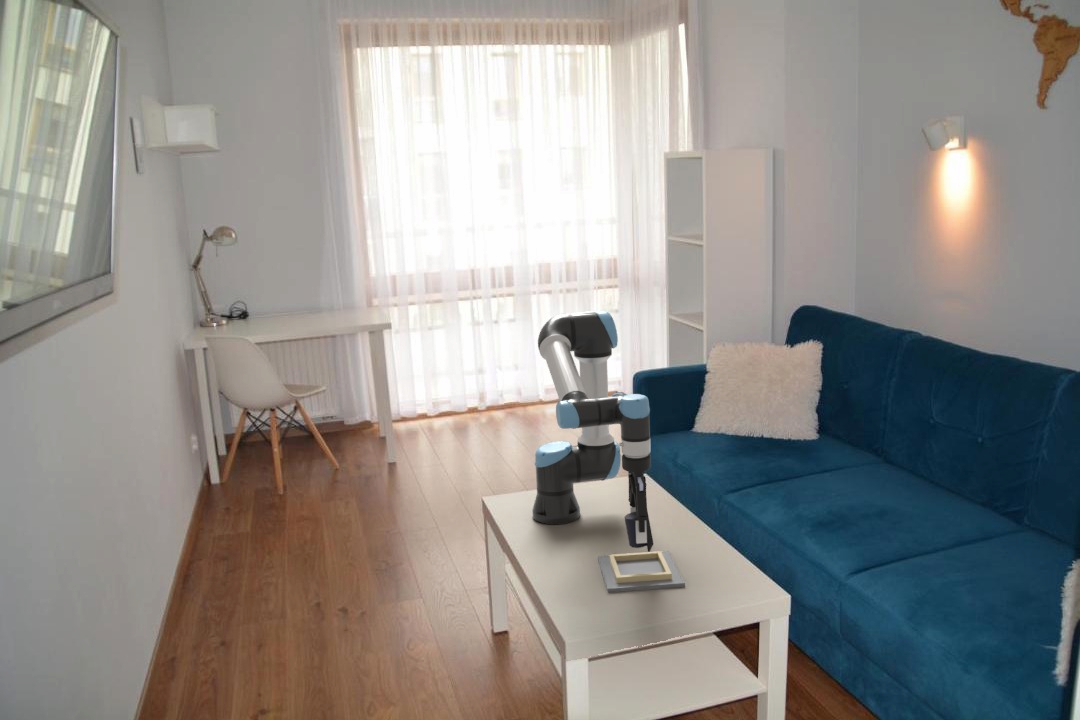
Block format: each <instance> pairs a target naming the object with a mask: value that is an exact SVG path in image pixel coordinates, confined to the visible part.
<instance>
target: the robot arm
mask: <svg viewBox="0 0 1080 720" xmlns="http://www.w3.org/2000/svg"><path fill="white" fill-rule="evenodd" d="M618 343H619V340H618V331H617V326H616V324H615V320H614V317H613V316H612V315H611V313H610V312H609V311H606V310H604V311H602V310H591V311H590V310H589V311H581V312H571V313H561V314H560V313H559V314H556V315H554V316H553V317H551V318H550V319H548V320H547V321H546V323H545V324H544V325H543V326H542V327H541V330H540V332H539V335H538V338H537V348H538V351H539V354H540V356H541V358H542V359H543V360H546V364H547V368H548V369H549V373H550V376H551V380H552V381H553V382H552V383H553V385H554V388H555V391H556V393H557V396H558V397H557V398H558V402H557V403H556V406H555V414H556V415H555V417H556V422H557V426H559V428H561V429H563V430H565V429H572V430H574V429H581V435H580V436H579V437H577V445H572V443H571V442H570V441H566V440H563V441H561V440H557V441H552V442H547V443H545V444H543V445H541V446H539V447H538V448H537V449H536V451H535V454H534V456H535V457H534V458H535V461H534V466H535V479H536V480H535V481H536V483H535V484H536V495H535V500H534V503H533V507H532V519H533V518H534V519H535V520H534V519H533V520H534V521H536V520H537V521H539V522H538V523H540V522H541V524H544V523H545V524H546V525H562V524H569V523H571V522H575V521H576V520H578V519H579V518H580V516H581V509H580V508H581V507H580V505H579V502H578V499H577V497H576V495H575V492H574V484H577V483H578V484H579V483H587V482H596V481H602V482H603V481H605V480H611V479H615V478H616V477H617V475H618V474H619V471H620V469H621V467H622V469H623V470H624V471H626V472H628V474H627V478H628V502H629V506H630V508H629V510H630V512H629V513H632V512H636V518H634V521H636V543H637V544H639V543H647V527H646V520H648V516H649V515H648V516H647V511H648V505H647V504H648V502H647V500H648V499H647V480H646V475H645V474H644V472H647V471H649V470H650V469H651V468H652V459H651V457H652V456H651V454H650V453H651V451H652V450H651V447H652V446H651V443H652V442H651V424H650V423H651V422H650V419H651V418H650V412H651V408H650V402H649V398H648V396H646V395H644V394H640V393H631V394H627V393H625V392H614V393H613V394H611V395H610V396H609V381H608V379H609V377H608V359H610V357H612V355H613V354H612V353H613V352H612V349H616V348H617V347H618ZM572 352H573V355H572ZM573 356H574V358H575V359H577V360H578V362H579V371H578V369H577V366H576V364H575V360H574V358H573ZM610 425H620V438H621V442H617V441H615V437H614V436H613V435H612V434H610ZM621 453H622V454H621ZM537 521H536V522H537ZM545 524H544V525H545Z"/></svg>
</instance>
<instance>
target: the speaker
mask: <svg viewBox="0 0 1080 720" xmlns="http://www.w3.org/2000/svg"><path fill="white" fill-rule="evenodd" d="M647 516H648V520H646V527H647V543H639V544H637V543H636V521H634V518H636V512H632V513H630V512H629V513H627V514H626V515H624V518H623V519H624V524H625V527H626V532H627V539H628V544H629V546H630V547H631V548H634V549H635V548H637V549H639V548H644V547H646V549H647V552H651V550H652V548H653V546H654V540H653V539H654V538H653V533H652V528H651V527H652V526H651V523H650V522H651V521H650V517H649V512H648V510H647Z"/></svg>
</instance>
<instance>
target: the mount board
mask: <svg viewBox="0 0 1080 720" xmlns="http://www.w3.org/2000/svg"><path fill="white" fill-rule="evenodd" d="M597 560H598V564H599V567H600V572H601V574H602V577H603V580H604V585H605V584H606V585H605V587H606V591H607V593H615V592H616V593H617V591H620V592H630V591H631V592H633V591H644V590H646V589H647V590H657V589H658V590H659V589H670V588H671V589H672V588H684V587H686V582H685V580H684V578H683V577H682V574H681V573H680V570H679V569H678V566H677V565H676V563H675V561H674V558H673V556H672V554H671V552H670V551H669V550H667V551H662V550H658V551H657V550H656V551H655V550H654V551H650V552H648V551H645V552H629V553H628V552H627V553H615V554H609V555H599V556H597ZM632 590H633V591H632ZM647 590H646V591H647Z"/></svg>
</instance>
